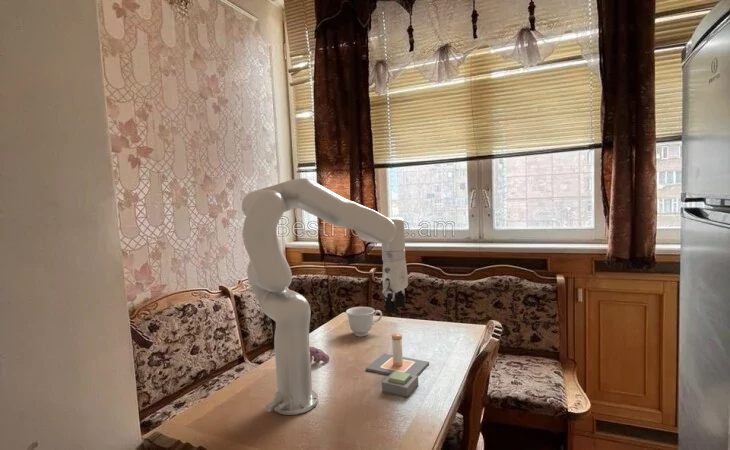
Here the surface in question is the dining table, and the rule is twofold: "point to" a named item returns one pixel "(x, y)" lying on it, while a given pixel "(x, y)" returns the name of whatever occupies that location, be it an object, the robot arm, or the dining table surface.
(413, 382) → the button housing
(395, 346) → the marker
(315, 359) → the video game controller
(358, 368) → the dining table surface
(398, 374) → the button
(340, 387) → the dining table surface
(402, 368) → the picture board
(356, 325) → the teacup
